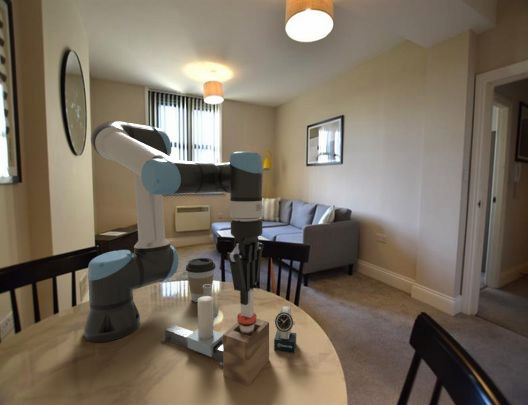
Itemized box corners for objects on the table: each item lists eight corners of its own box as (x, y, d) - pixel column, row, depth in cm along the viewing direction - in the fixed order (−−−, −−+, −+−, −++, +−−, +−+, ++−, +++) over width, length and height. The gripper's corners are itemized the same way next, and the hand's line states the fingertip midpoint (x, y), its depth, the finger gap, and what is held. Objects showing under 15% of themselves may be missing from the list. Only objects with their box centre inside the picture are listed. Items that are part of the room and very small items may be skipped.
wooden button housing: (223, 375, 62) (222, 334, 61) (245, 351, 70) (245, 315, 70) (248, 386, 58) (248, 343, 58) (269, 359, 67) (269, 322, 66)
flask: (213, 320, 86) (213, 290, 86) (193, 318, 88) (192, 289, 87) (221, 309, 94) (221, 282, 93) (202, 307, 95) (202, 281, 94)
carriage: (186, 348, 70) (185, 300, 69) (202, 336, 75) (201, 292, 74) (210, 357, 66) (209, 307, 65) (224, 344, 71) (224, 298, 70)
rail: (161, 342, 75) (160, 331, 74) (177, 331, 80) (176, 322, 80) (223, 367, 64) (223, 356, 64) (237, 353, 69) (237, 342, 69)
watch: (272, 354, 69) (272, 314, 68) (278, 337, 77) (278, 301, 76) (293, 358, 68) (294, 317, 67) (297, 340, 76) (297, 303, 75)
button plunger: (233, 342, 63) (233, 318, 63) (244, 333, 67) (244, 309, 67) (250, 348, 61) (250, 322, 60) (259, 338, 65) (259, 314, 64)
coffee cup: (222, 296, 104) (221, 259, 103) (201, 308, 95) (200, 267, 94) (201, 290, 110) (200, 255, 109) (179, 300, 101) (179, 262, 100)
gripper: (245, 223, 54) (245, 332, 56) (273, 216, 66) (272, 307, 67) (216, 221, 58) (217, 324, 59) (247, 214, 69) (248, 301, 71)
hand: (247, 315), depth 63 cm, fingers closed
